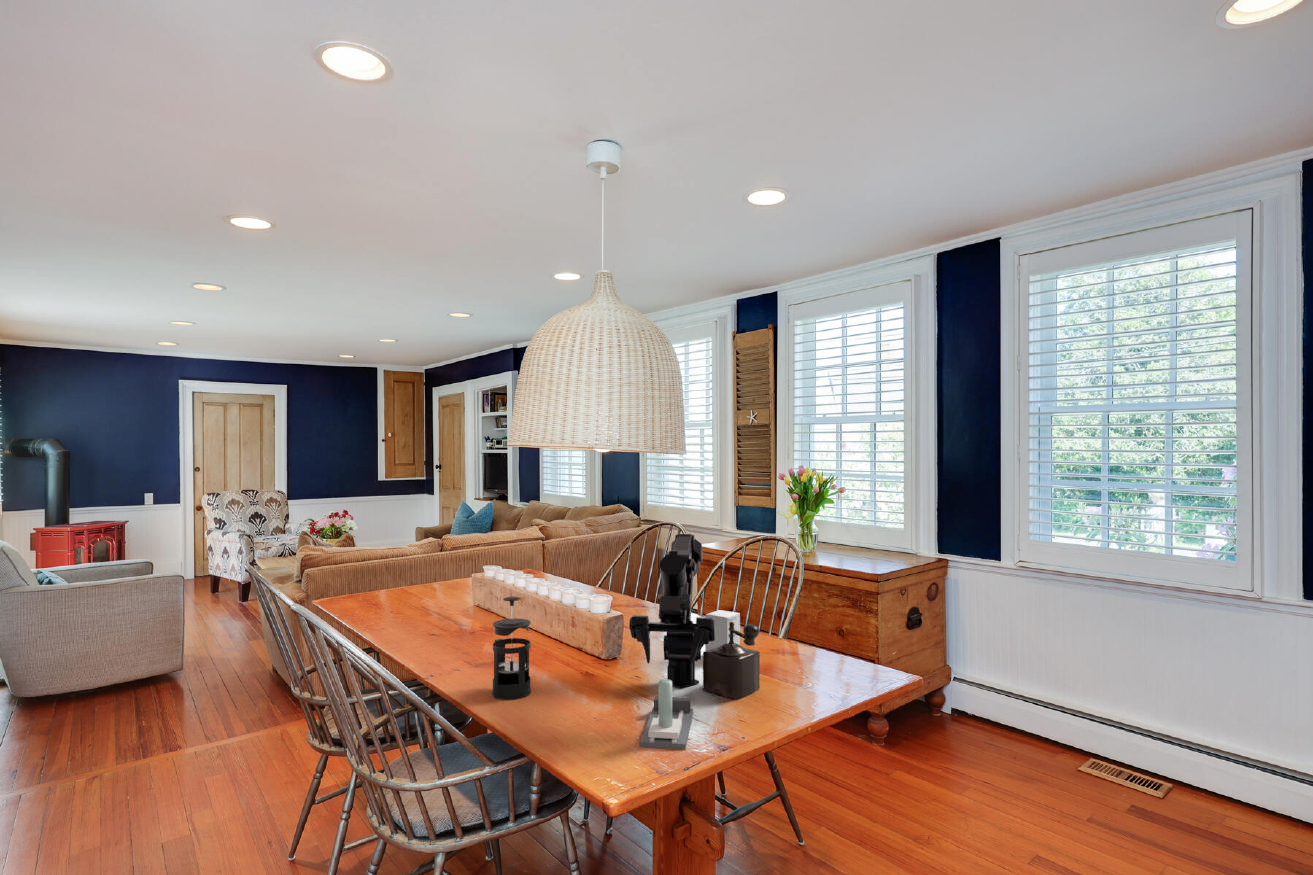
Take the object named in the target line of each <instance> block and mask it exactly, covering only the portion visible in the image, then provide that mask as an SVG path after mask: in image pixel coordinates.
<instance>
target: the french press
mask: <svg viewBox="0 0 1313 875" xmlns="http://www.w3.org/2000/svg"><path fill="white" fill-rule="evenodd" d="M502 600H503V601H506V602H509V606H510V618H505V619H504V618H503V619H499V620H497V621H496V620H495V621H494V622H493V623H492V626H493V627H494V634H495V635H497V636H503V637H507V636H510V638H504V639H503V638H497V639H494V641H493V642H492V651H493V678H492V691H491V696H492V697H493V699H494V698H495V699H498V700H506V701H507V700H508V701H510V700H511V701H512V700H519V699H523V698H526V697H527V696H529V695H530V694H531V693H532V687H531V683H532V682H531V680H532V679H531V676H530V649H531V647H532V646H531V644H532V642H531V641H530V640H529V639H527V638H521V637H513V636H514V635H513V633H514V632H515V631H517V630H518V629H525V630H526V631H528V632H529V631H530V628H529V627H530V625H531V620H529V619H526V618H515V617H514V618H513V615H514V614H513V612H514V611H513V606H515V602H516V601H520V600H521V597H519V596H506V597H504V598H503V599H502ZM515 644H516V645H517V644H518V645H520V644H521V645H523V646H518V647H513V645H515ZM506 645H510V647H506ZM509 654H510V660H509V661H506V655H509ZM514 654H518V660H513V655H514Z"/></svg>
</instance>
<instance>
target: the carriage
mask: <svg viewBox="0 0 1313 875" xmlns="http://www.w3.org/2000/svg"><path fill="white" fill-rule="evenodd" d="M658 697H659V718H653V720H652V723H651V725H650V728H649V731H648V737H651V738H670V739H679V735H680V731H681V727H682V719H672V697H673V685H672V680H669V679H666V678H663V679H659V680H658Z"/></svg>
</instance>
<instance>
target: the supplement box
mask: <svg viewBox="0 0 1313 875" xmlns="http://www.w3.org/2000/svg"><path fill="white" fill-rule="evenodd" d="M705 618H712V619H713V620H714V623H715V640H714V641H709V643H708V644H704V646H705V649H704V650H705V651H707V650H710V649H713V648H716V647H719V646H721V645H723V644H726V643H729V641H730V631H729V627H730V626H729V623H730V622H734V629H735V630H736V631H738V632H740V633H741V613H740V612H736V611H728V610H722V609H718V610H715V611H712V612H709V613H706V614H705ZM740 640H741V637H740V636H738V635H736V634H733V641H734V643H736V644H738V645H740V646H741V641H740ZM705 651H704V652H705Z"/></svg>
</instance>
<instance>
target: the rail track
mask: <svg viewBox="0 0 1313 875" xmlns="http://www.w3.org/2000/svg"><path fill="white" fill-rule="evenodd" d="M691 700H692V698H691V697H676V696H672V719H682V727H681V731H680V735H679V739H670V738H651V737H648V731H649V728H650V725H651V723H652V720H653V718H659V696H654V699H653V707H652V709H651V711H650V714H649V717H648V720H647V722H646V725H645V728H644V730H643V733H642V735H641V738H640V741H639V747H641V748H658V749H676V750H686V749H687V744H688V740H689V736H690V730H691V727H692V726H691V725H692V722H693V716H694V708H692V701H691Z"/></svg>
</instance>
